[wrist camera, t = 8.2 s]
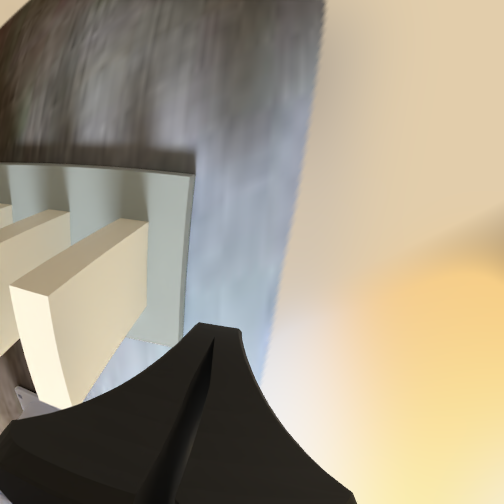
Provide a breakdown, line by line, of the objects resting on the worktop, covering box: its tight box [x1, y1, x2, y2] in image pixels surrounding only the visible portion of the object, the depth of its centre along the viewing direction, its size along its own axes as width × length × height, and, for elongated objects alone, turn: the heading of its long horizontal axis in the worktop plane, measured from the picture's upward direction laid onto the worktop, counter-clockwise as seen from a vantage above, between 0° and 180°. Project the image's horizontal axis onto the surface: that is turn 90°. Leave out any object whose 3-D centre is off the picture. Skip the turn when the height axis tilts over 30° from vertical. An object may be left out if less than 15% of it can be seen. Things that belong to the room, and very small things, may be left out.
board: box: [0, 162, 195, 347], centre depth 16 cm, size 9×22×1 cm, turn 82°
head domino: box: [9, 218, 149, 409], centre depth 11 cm, size 4×2×8 cm, turn 172°
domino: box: [0, 209, 71, 357], centre depth 11 cm, size 4×2×8 cm, turn 172°
